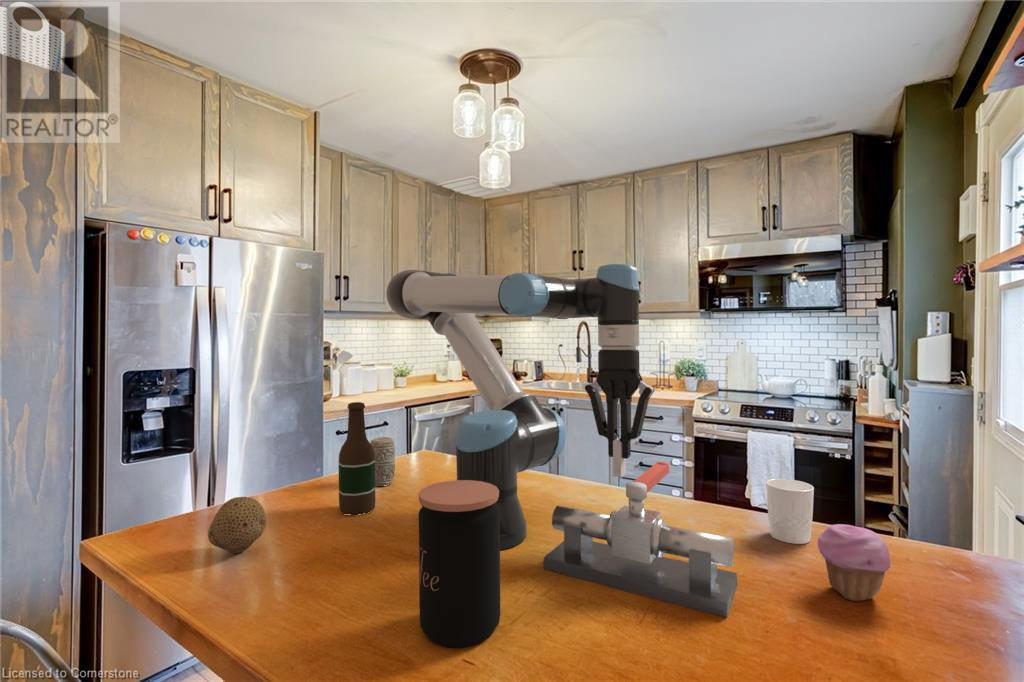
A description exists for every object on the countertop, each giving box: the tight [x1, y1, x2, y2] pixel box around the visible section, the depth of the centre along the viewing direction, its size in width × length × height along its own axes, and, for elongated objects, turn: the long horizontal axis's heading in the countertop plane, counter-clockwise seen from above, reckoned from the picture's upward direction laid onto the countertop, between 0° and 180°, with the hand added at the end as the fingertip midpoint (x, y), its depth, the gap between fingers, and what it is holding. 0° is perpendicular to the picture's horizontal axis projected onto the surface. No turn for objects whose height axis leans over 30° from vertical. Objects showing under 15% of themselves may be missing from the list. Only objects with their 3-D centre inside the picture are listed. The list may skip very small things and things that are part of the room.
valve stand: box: [543, 498, 738, 618], centre depth 79 cm, size 28×10×12 cm, turn 59°
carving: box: [370, 436, 396, 487], centre depth 131 cm, size 6×8×12 cm
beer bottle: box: [338, 401, 376, 515], centre depth 111 cm, size 8×8×24 cm
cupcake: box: [817, 523, 891, 602], centre depth 73 cm, size 9×9×10 cm
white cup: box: [765, 478, 815, 545], centre depth 94 cm, size 8×8×10 cm
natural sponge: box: [207, 496, 268, 554], centre depth 89 cm, size 9×9×10 cm
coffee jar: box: [418, 479, 501, 649], centre depth 66 cm, size 11×11×18 cm
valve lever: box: [625, 461, 670, 500], centre depth 86 cm, size 19×3×2 cm, turn 149°
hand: (619, 474), depth 93 cm, fingers closed
